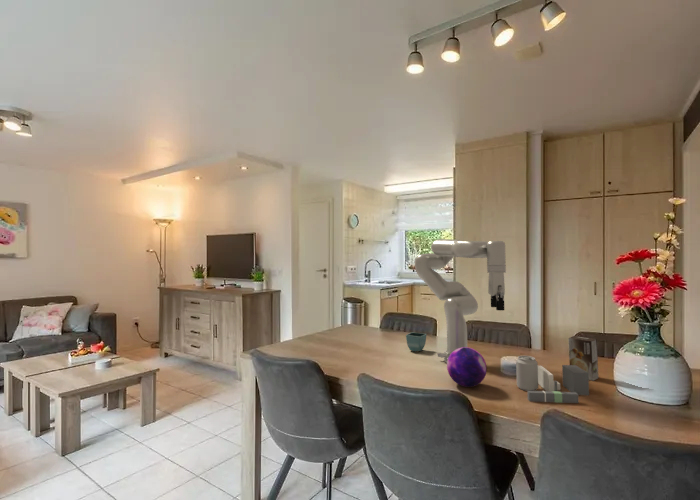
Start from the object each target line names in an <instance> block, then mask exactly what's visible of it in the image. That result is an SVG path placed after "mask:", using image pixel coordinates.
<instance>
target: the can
mask: <svg viewBox="0 0 700 500" xmlns="http://www.w3.org/2000/svg"><path fill="white" fill-rule="evenodd" d="M515 363H516V364H515V366H516V367H515V370H516V386H517V387H518V389H520V390H522V391H526V392H527V391H537V389H539V384H538V361H537V359H536V358H535V357H534V356H531V355H518V356H517V359H516V360H515Z"/></svg>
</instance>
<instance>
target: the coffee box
mask: <svg viewBox="0 0 700 500" xmlns="http://www.w3.org/2000/svg"><path fill="white" fill-rule="evenodd" d="M598 356H599V355H598V339H597V338H591V337H583V336H578V335H576V336H575V335H573V336H570V337H569V338H568V358H569V359H568V360H569V365H576V366H578V367H579V368H581V369H583V370H584V371H586V372H587V373H589V381H595V380H597V379H599V357H598Z"/></svg>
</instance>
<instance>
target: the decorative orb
mask: <svg viewBox="0 0 700 500" xmlns="http://www.w3.org/2000/svg"><path fill="white" fill-rule="evenodd" d="M446 369H447V373H448V375H449V377H450V378H451V380H452V381H453V382H455V383H456V384H457V385H459V386H461V387H467V388H469V387H470V388H472V387H475V386H478V385H480V384H481V383H482V382H483V381H484V379H485V378H486V375H487V362H486V360H485V358H484V356H483V355H482V354H481V353H480V352H479V351H477V350H476V349H474V348H472V347H468V346H467V347H462V348H458V349H456V350H454V351H453V352H452V353H451V354H450V356H449V358H448V361H447V363H446Z"/></svg>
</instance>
